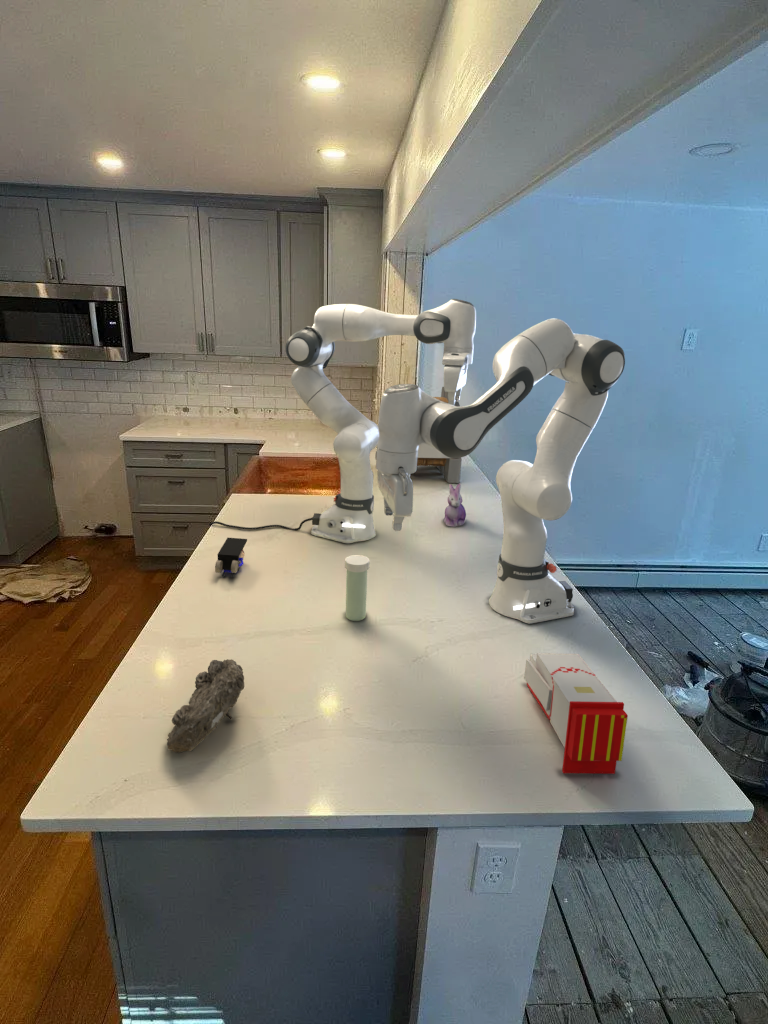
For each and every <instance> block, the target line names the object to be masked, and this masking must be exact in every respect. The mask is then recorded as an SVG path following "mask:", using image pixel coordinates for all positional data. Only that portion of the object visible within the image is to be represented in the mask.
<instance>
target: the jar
mask: <svg viewBox="0 0 768 1024" xmlns="http://www.w3.org/2000/svg"><path fill="white" fill-rule="evenodd" d="M345 576H346V577H345V579H346V583H345V584H346V585H345V618H346V619H347V620H349V621H351V622H353V621H354V622H359V621H362V620H364V619H366V617H367V595H368V594H367V590H368V589H367V588H368V570H366V571H364V572H351V571H348V570H347V569H346V575H345Z"/></svg>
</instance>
